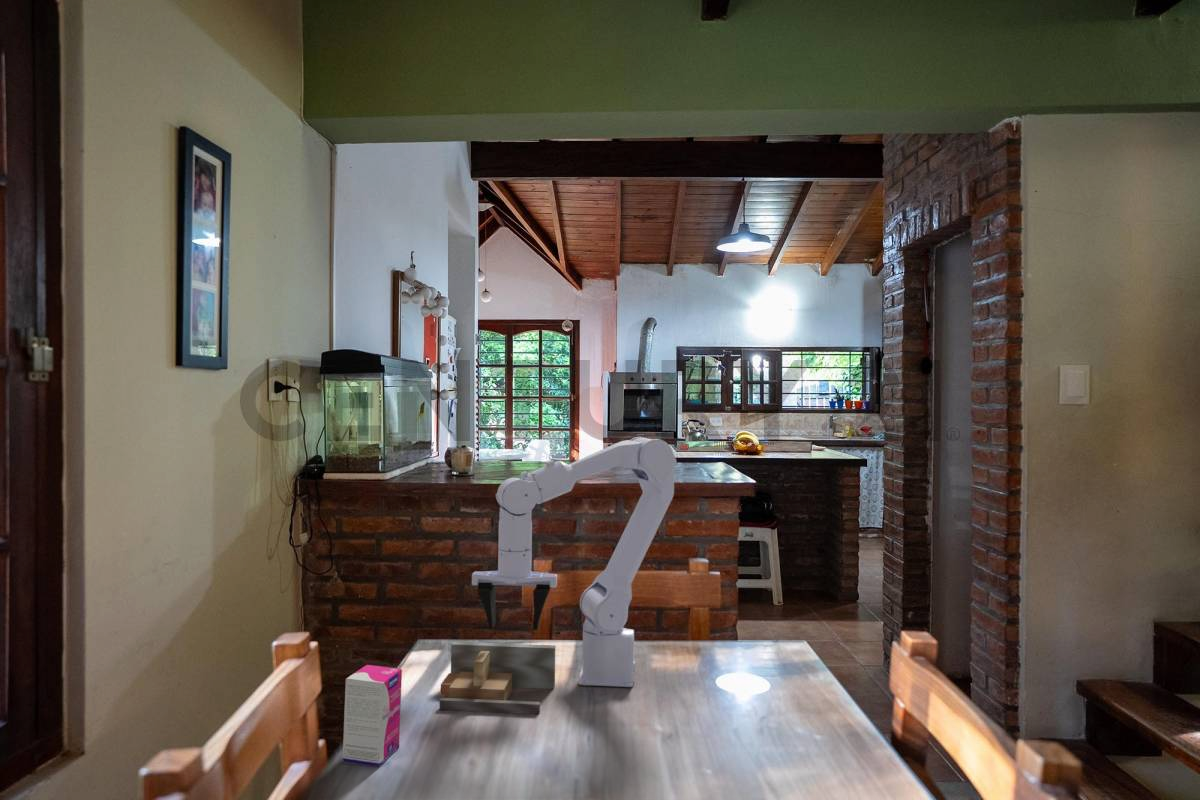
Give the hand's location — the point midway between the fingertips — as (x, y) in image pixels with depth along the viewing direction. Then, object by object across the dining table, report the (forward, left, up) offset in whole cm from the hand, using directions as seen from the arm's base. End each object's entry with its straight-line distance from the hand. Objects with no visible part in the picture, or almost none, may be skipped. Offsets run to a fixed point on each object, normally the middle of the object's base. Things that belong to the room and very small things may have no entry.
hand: (514, 627), depth 124 cm
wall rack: (+2, +4, -10) cm, 11 cm away
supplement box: (+15, +25, -11) cm, 31 cm away
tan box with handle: (+5, +4, -11) cm, 12 cm away
